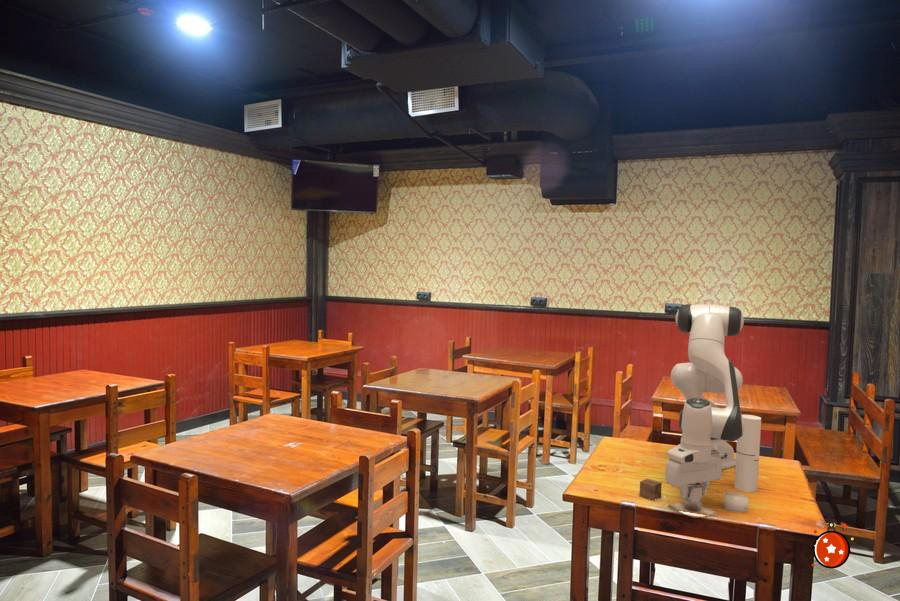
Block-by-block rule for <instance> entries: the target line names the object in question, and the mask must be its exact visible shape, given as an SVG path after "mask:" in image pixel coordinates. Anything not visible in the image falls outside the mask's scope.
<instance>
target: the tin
mask: <svg viewBox="0 0 900 601" xmlns="http://www.w3.org/2000/svg"><path fill="white" fill-rule="evenodd" d="M701 485H702V484H699V485H698V484H688V485H686V488H685V491H686V492H687V493H688V498H685V499H684V500H683V502H684V508H685V509H687V510H690V511H701V506H702V505H703V503H702V502H703V496H702V486H701Z"/></svg>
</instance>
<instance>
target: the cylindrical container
mask: <svg viewBox="0 0 900 601" xmlns="http://www.w3.org/2000/svg"><path fill="white" fill-rule="evenodd" d="M742 417H743V420H744V432H743V435H742V437H740V438H739V439H737V440H736V449H735V450H736V453H735V459H736V466H734V467H735V470H734V485H733V486H734V489H736V490H738V491H741V492H745V493H756V492H758V486H759V485H758V482H759V469H760V468H759V466H760V450H761V449H760V447H761V433H762V432H761V430H762V429H761V428H762V417H760V416H757V415H753V414H742Z"/></svg>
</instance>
